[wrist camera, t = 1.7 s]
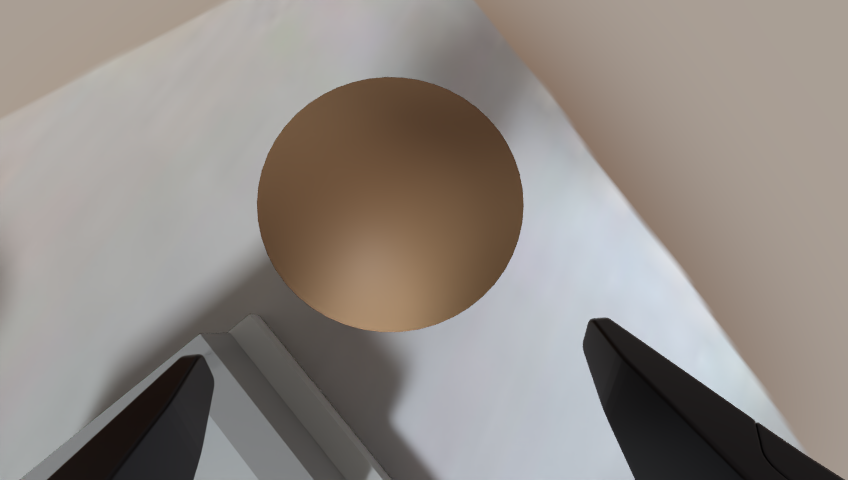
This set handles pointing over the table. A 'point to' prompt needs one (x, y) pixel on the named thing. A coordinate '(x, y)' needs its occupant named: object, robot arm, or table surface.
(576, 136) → the table surface
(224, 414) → the board
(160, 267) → the table surface
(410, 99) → the bobbin
